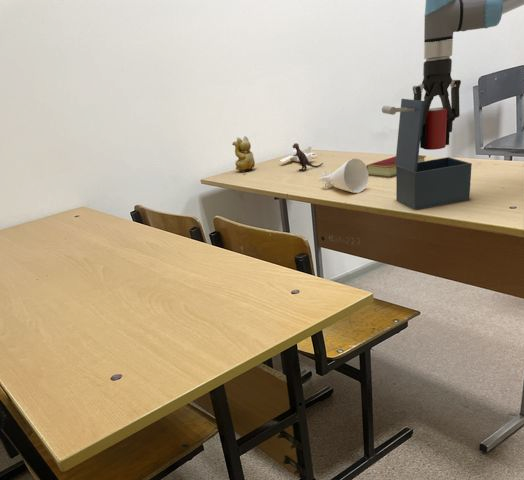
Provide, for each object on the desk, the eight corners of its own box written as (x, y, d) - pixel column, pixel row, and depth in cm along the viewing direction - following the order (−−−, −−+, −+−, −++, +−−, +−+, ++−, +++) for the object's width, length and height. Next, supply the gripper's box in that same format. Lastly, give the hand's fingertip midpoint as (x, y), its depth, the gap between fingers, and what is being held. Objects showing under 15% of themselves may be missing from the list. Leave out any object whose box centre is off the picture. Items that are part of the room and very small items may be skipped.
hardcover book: (366, 175, 209) (365, 164, 207) (402, 164, 219) (402, 153, 217) (389, 177, 200) (389, 166, 198) (425, 166, 210) (426, 155, 208)
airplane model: (307, 156, 262) (305, 140, 258) (330, 159, 246) (329, 142, 243) (272, 164, 254) (270, 148, 250) (294, 168, 239) (293, 151, 235)
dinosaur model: (290, 143, 226) (319, 139, 232) (291, 171, 232) (319, 166, 238) (296, 144, 223) (325, 140, 229) (296, 173, 229) (324, 168, 235)
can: (449, 147, 156) (451, 108, 151) (428, 150, 156) (429, 111, 150) (440, 144, 161) (442, 106, 156) (420, 147, 161) (421, 109, 156)
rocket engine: (317, 160, 196) (350, 151, 181) (339, 175, 203) (372, 168, 188) (307, 188, 196) (339, 182, 181) (329, 203, 202) (362, 198, 187)
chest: (447, 191, 173) (448, 156, 168) (469, 200, 161) (471, 163, 156) (396, 200, 171) (396, 165, 166) (414, 209, 159) (415, 173, 154)
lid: (403, 98, 157) (377, 99, 156) (424, 100, 145) (396, 101, 144) (397, 164, 166) (372, 165, 164) (416, 171, 154) (389, 172, 153)
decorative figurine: (247, 168, 254) (243, 134, 247) (260, 168, 249) (256, 134, 242) (233, 172, 248) (228, 138, 241) (246, 173, 243) (241, 138, 236)
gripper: (463, 54, 152) (458, 139, 163) (399, 63, 149) (398, 149, 161) (477, 53, 145) (471, 142, 156) (410, 63, 143) (409, 152, 154)
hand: (434, 146), depth 158 cm, fingers closed on can, 6 cm apart
